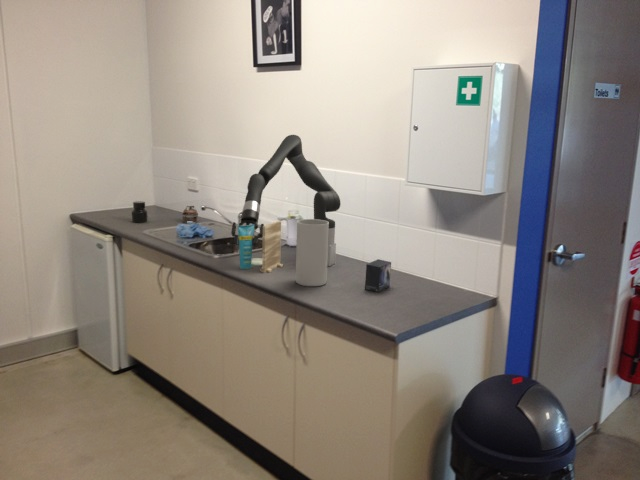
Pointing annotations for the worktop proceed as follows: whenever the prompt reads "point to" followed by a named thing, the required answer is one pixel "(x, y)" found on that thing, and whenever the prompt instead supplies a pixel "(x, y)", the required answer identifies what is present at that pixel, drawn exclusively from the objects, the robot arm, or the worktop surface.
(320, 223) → the cylinder vase
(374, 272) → the small box
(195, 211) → the rusty gas canister
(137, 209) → the ink bottle
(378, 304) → the worktop surface
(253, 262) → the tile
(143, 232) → the worktop surface
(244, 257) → the tube
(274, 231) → the screen
